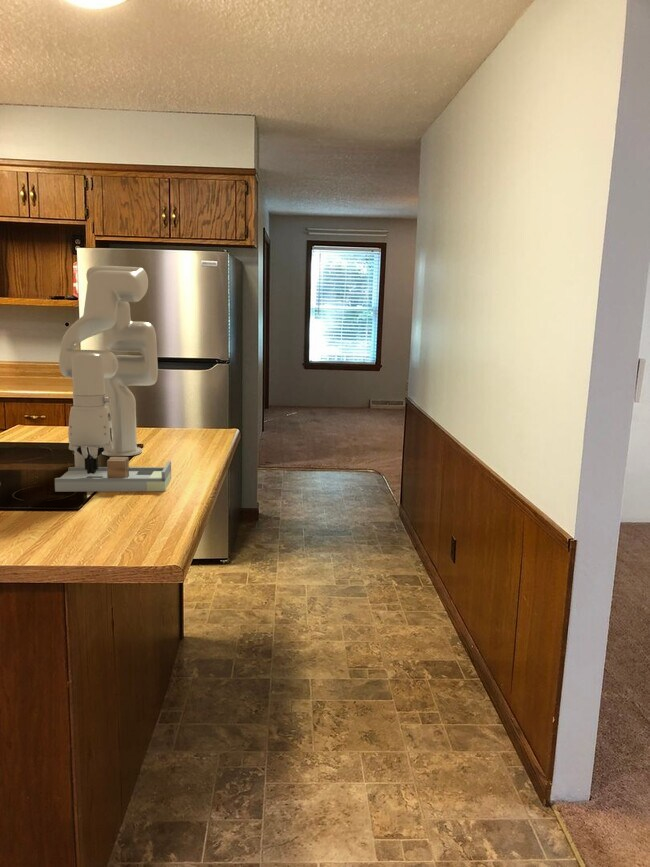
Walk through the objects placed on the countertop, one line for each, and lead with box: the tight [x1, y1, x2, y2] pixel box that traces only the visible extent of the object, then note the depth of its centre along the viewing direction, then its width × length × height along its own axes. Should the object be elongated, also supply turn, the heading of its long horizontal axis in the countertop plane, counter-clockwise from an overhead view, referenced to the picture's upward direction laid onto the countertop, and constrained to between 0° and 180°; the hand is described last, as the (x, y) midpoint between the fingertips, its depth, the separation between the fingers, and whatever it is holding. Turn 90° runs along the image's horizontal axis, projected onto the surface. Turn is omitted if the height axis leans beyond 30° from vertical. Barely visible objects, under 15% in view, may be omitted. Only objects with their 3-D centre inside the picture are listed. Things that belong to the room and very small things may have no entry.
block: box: [106, 456, 130, 478], centre depth 164 cm, size 4×4×5 cm
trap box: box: [54, 460, 172, 493], centre depth 167 cm, size 13×27×5 cm, turn 96°
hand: (91, 472), depth 163 cm, fingers closed
